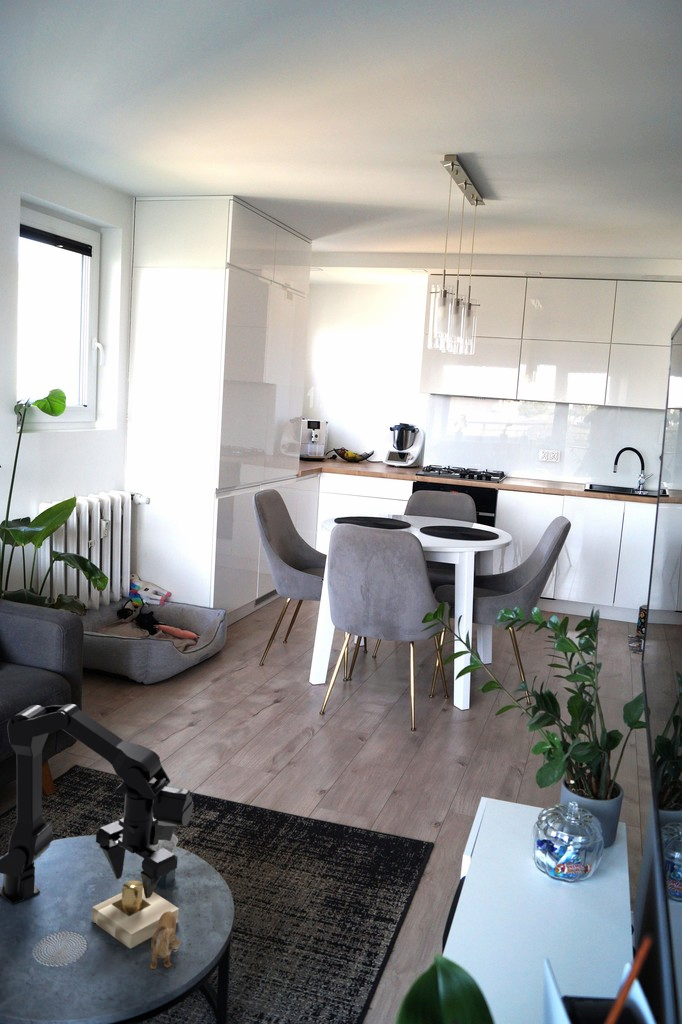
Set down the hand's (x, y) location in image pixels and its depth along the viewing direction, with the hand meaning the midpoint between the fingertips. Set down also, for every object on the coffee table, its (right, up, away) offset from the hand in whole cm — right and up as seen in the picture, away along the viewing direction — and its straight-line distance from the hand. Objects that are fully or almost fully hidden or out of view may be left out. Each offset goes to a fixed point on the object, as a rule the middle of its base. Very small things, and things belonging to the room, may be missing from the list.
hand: (133, 887), depth 173 cm
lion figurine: (+8, -9, -9) cm, 16 cm away
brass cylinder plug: (-1, -7, +1) cm, 7 cm away
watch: (+2, -5, +15) cm, 16 cm away
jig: (0, -7, 0) cm, 7 cm away
